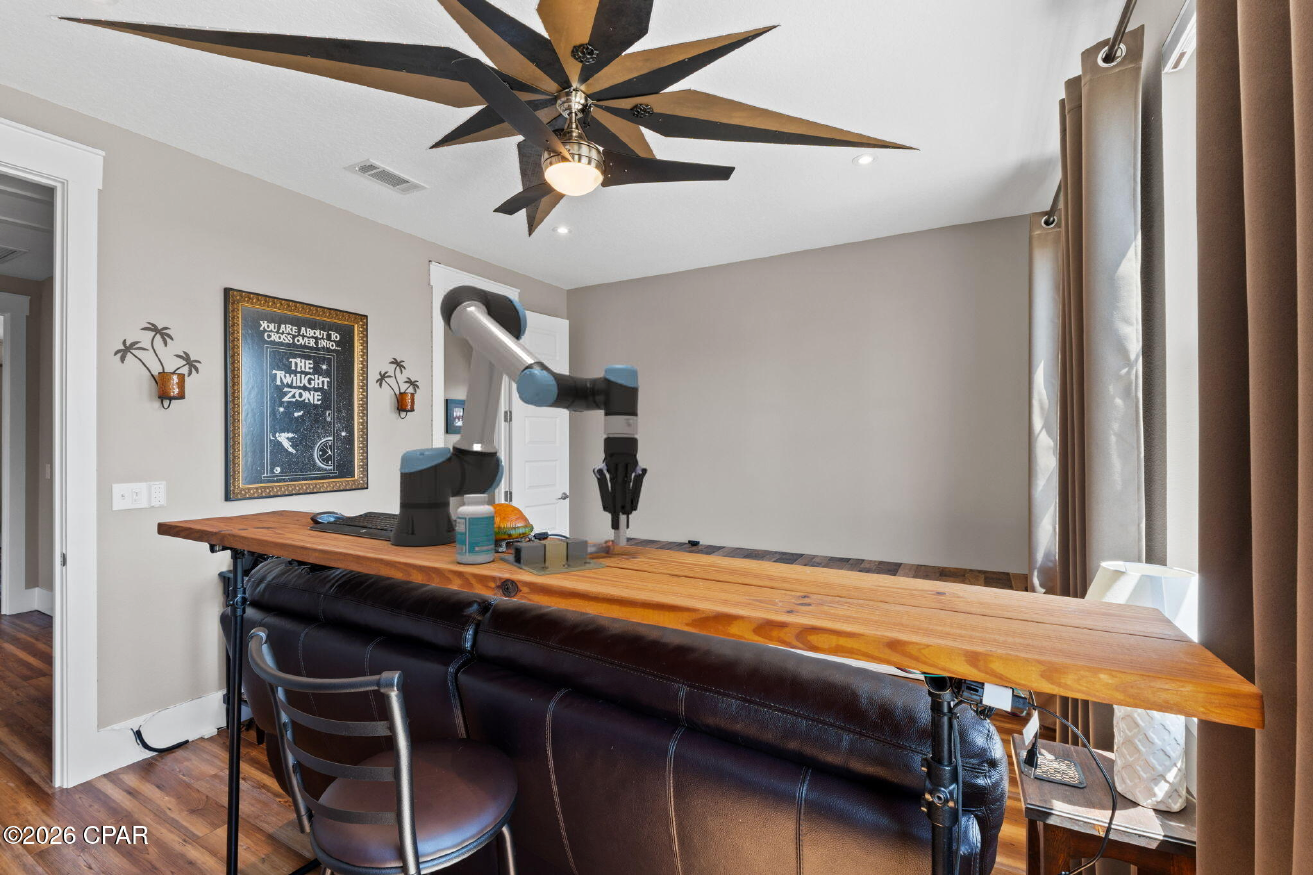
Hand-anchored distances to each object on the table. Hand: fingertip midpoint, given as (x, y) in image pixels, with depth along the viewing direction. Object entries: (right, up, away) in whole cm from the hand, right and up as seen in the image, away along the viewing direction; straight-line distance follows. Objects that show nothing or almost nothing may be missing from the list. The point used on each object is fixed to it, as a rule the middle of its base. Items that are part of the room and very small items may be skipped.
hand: (620, 544), depth 126 cm
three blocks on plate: (-13, -2, -10) cm, 17 cm away
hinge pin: (-8, -2, -6) cm, 11 cm away
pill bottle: (-29, -2, -8) cm, 30 cm away
